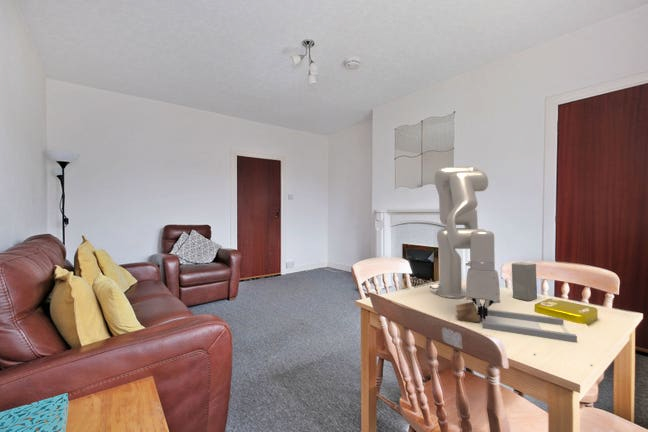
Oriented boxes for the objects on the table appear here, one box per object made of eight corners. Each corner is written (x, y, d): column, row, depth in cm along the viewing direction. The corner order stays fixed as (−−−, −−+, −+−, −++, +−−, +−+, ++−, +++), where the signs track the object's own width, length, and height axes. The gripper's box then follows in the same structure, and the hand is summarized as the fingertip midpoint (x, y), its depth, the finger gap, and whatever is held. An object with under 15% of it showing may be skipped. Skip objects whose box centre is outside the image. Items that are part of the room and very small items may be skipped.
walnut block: (461, 324, 100) (456, 310, 100) (461, 318, 105) (456, 305, 106) (479, 321, 97) (474, 307, 98) (478, 315, 103) (473, 301, 103)
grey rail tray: (482, 331, 94) (482, 322, 94) (481, 316, 107) (481, 308, 107) (576, 346, 83) (576, 336, 83) (562, 327, 96) (562, 318, 96)
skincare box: (527, 301, 122) (527, 265, 122) (510, 297, 129) (510, 262, 128) (538, 298, 126) (538, 263, 126) (521, 294, 133) (520, 260, 132)
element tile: (584, 329, 95) (583, 315, 95) (532, 315, 108) (532, 303, 108) (599, 319, 103) (599, 306, 103) (549, 308, 116) (549, 296, 115)
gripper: (458, 266, 100) (458, 318, 100) (508, 269, 93) (509, 325, 93) (459, 262, 107) (459, 311, 107) (506, 265, 100) (506, 317, 100)
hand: (482, 317), depth 100 cm, fingers closed
